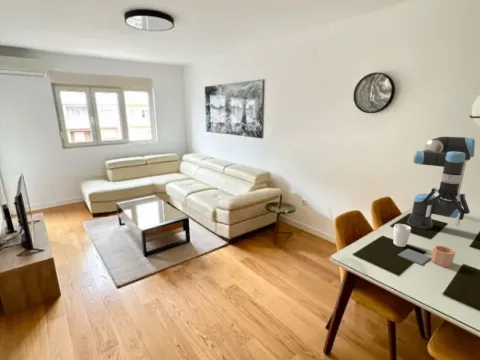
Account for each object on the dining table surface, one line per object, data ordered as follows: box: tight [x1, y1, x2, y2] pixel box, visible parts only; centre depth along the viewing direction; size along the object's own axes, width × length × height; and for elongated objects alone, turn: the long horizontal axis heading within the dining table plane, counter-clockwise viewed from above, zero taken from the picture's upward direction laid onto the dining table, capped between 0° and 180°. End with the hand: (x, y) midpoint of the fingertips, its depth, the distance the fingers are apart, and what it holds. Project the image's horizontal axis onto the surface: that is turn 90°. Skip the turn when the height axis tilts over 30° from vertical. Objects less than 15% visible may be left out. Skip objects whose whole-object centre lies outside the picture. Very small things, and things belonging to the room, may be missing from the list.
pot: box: [430, 244, 456, 268], centre depth 142 cm, size 9×9×8 cm
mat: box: [397, 248, 431, 266], centre depth 148 cm, size 12×12×1 cm
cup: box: [392, 223, 412, 248], centre depth 161 cm, size 9×9×12 cm
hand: (441, 220), depth 139 cm, fingers open, 13 cm apart
